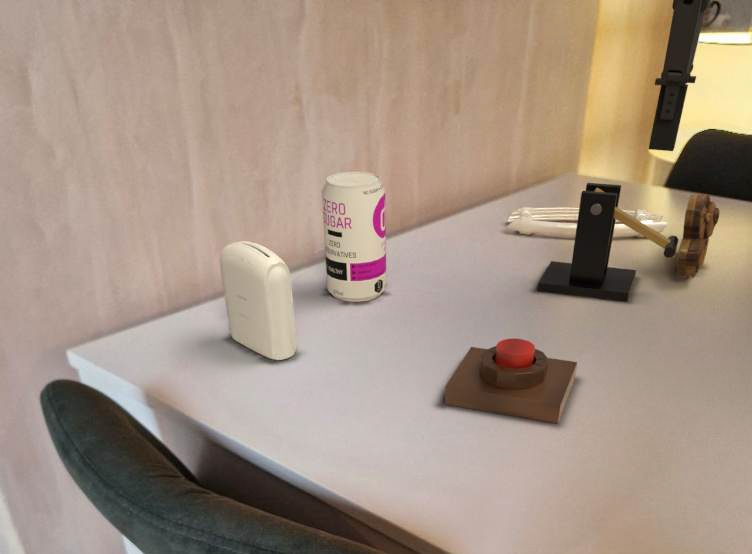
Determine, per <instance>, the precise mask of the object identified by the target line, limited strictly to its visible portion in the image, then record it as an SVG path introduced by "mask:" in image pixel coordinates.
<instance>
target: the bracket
mask: <svg viewBox="0 0 752 554" xmlns="http://www.w3.org/2000/svg"><path fill="white" fill-rule="evenodd" d="M585 185H586V186H585V190H582V191H581V193H580V200H579V206H578V208H579V214H578V220H576V223H577V228H576V235H575V236H574V244H573V251H572V257H571V262H564V261H554V260H551V261H550V263H549V264H548V266H547V267H546V269H545V271H544V272H543V274H542V276H541V278H540V280H539V282H538V285H537V292H544V293H551V294H558V295H559V294H560V295H567V296H568V295H569V296H576V297H585V298H592V299H593V298H594V299H602V300H610V301H617V302H628V301H629V297H630V294H631V292H632V289H633V285H634V282H635V279H636V275H637V269H629V268H621V267H620V268H619V267H610V266H609V261H610V255H611V249H612V243H613V238H614V237H613V232H614V226H615V224H616V222H615V221H616V219H615V218H614V212H615V207H617V208H618V209H619V202H620V197H621V190H622V185H621V184H612V183H611V184H609V183H598V182H597V183H596V182H586V184H585ZM596 188H599V189H601V190H602V191H604V192H594V191H595V189H596Z"/></svg>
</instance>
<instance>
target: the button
mask: <svg viewBox="0 0 752 554" xmlns="http://www.w3.org/2000/svg"><path fill="white" fill-rule="evenodd" d="M495 346H496V355H495V362H496V364H499V365H501V366H503V367H507V368H514V369H518V368H527V367H529V366H531V365H533V361H534V352H535V349H536V346H535V344H534V343H533V342H531V341H530V340H527V339H524V338H523V339H522V338H505V339H502V340H500V341H498V342H497V343H496V345H495Z"/></svg>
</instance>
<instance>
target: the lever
mask: <svg viewBox="0 0 752 554" xmlns="http://www.w3.org/2000/svg"><path fill="white" fill-rule="evenodd" d="M594 192H604V191H602V190H601V189H599V188H596V189H595V191H594ZM622 210H623V209H620V208H619V207H618V208H617V207H615V212H614V218H615V219H616V220H618V221H620V222H619V223H620V224H625V225H626V226H628V227H630V228H631V229H633V230H634V231H636V232H638V233H639V234H641V235H643V236H644V237H643V238H646V239H647V240H649V241H651V242H653V243H655V244H656V245H658V246H659V247H661V248H663V256H664V257H665V258H667V259H672V258H674V257H675V256H676V252H677V248H678V245H679V238H678V236H676V235H673V234H672V235H669V236H668V237H667V236H665V235H663V234H661V233H658V232H656V231H655V230H653V229H651V228H650V227H648V226H646V225H645V224H643V223H641V222H640V221H638V220H637V219H635V218H633V217H632V216H630V215H628V214H627V213H625V212H623V211H622Z"/></svg>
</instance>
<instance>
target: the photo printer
mask: <svg viewBox="0 0 752 554" xmlns="http://www.w3.org/2000/svg"><path fill="white" fill-rule="evenodd" d="M219 267H220V273H221V281H222V287H223V295H224V301H225V307H226V314H227V320H228V326H229V332H230V336H231V338H232V339H233V340H234V341H236V342H237V343H239V344H241V345H243V346H244V347H246V348H248V349H250V350H252V351H254V352H256V353H258V354H259V355H261V356H264V357H266V358H268V359H270V360H275V361H282V360H287V359H289V358H291V357H293V356H294V355H295V352H296V351H298V341H297V330H296V320H295V312H294V311H295V310H294V309H295V308H294V299H293V289H292V280H291V272H290V269H289V266H288V265H287V264H286V263H285V261H284V260H283V259H282V258H281V257H280V256H278V255H277V254H276V253H275V252H273V251H272V250H271V249H269V248H267V247H265V246H263V245H261V244H259V243H256V242H252V241H248V240H241V241H236V242H233V243H228V244H227V245H225V246H224V247H223V249H222V251H221V252H220V256H219Z"/></svg>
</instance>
